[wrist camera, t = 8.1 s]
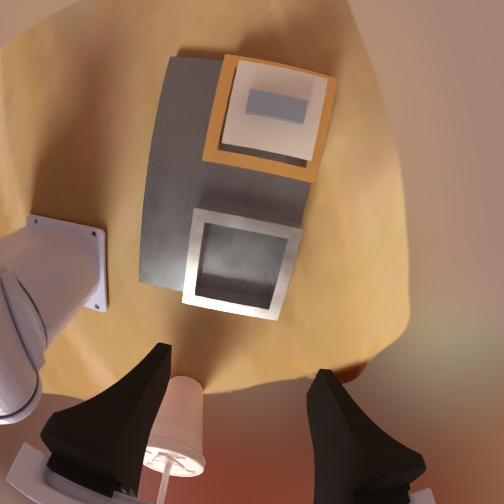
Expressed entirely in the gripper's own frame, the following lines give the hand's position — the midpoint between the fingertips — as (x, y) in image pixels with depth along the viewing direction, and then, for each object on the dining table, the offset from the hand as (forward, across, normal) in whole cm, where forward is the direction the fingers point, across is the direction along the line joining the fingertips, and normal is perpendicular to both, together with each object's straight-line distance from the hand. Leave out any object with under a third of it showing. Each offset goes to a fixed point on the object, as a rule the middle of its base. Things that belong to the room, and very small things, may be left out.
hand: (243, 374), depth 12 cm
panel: (+10, +3, -7) cm, 12 cm away
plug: (+9, +1, -12) cm, 15 cm away
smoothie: (+10, +4, +14) cm, 18 cm away
